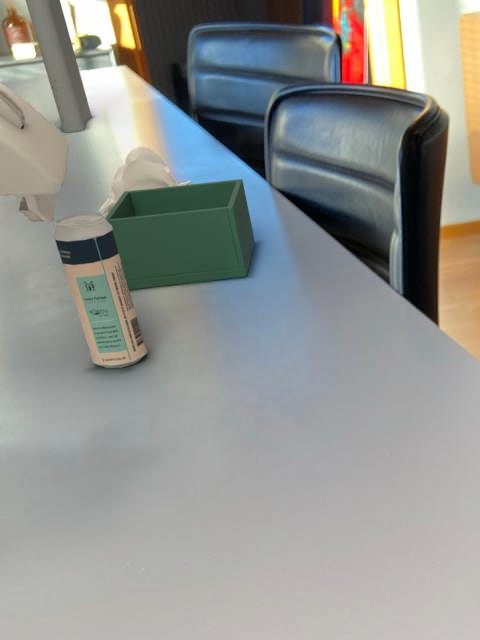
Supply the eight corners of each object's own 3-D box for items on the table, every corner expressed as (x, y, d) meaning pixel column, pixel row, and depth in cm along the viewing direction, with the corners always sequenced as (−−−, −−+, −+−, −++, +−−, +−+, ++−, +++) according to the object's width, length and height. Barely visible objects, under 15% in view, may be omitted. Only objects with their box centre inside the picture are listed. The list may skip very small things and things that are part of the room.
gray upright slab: (69, 118, 205) (27, -29, 190) (92, 115, 206) (52, -32, 191) (58, 133, 191) (12, -25, 176) (83, 130, 192) (39, -27, 177)
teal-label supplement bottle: (135, 346, 93) (95, 208, 86) (157, 359, 90) (118, 217, 83) (85, 362, 91) (40, 221, 83) (106, 375, 87) (61, 230, 80)
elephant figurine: (105, 227, 130) (84, 151, 125) (200, 214, 132) (183, 139, 126) (100, 246, 122) (78, 167, 117) (201, 232, 124) (183, 154, 119)
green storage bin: (121, 290, 107) (102, 221, 103) (141, 255, 118) (124, 191, 114) (247, 276, 108) (232, 207, 104) (255, 243, 118) (242, 178, 114)
